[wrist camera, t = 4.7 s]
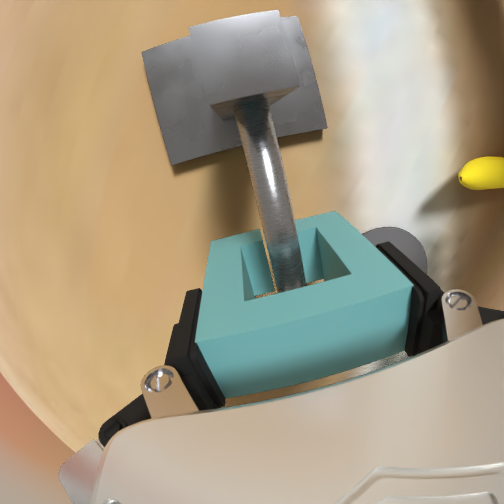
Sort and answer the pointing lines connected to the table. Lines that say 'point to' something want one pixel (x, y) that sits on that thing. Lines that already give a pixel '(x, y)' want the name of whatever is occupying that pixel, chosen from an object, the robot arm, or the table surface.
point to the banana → (483, 173)
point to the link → (299, 309)
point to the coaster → (400, 243)
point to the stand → (242, 110)
